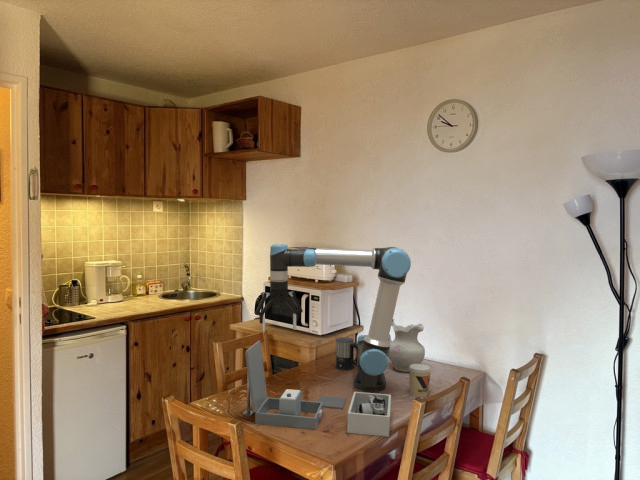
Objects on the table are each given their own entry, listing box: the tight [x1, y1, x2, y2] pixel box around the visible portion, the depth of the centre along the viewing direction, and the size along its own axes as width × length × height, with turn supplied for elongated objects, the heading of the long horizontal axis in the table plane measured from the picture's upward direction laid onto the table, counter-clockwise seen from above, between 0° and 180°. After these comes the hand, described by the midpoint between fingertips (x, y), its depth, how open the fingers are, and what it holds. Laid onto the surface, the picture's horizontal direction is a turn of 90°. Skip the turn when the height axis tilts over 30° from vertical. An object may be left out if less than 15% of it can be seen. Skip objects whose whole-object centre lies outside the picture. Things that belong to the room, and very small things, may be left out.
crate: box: [346, 391, 392, 438], centre depth 177 cm, size 15×22×7 cm
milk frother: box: [335, 336, 358, 371], centre depth 244 cm, size 14×16×15 cm
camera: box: [358, 395, 386, 416], centre depth 177 cm, size 16×9×10 cm, turn 5°
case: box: [254, 396, 324, 430], centre depth 179 cm, size 23×16×4 cm
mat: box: [317, 395, 347, 410], centre depth 195 cm, size 11×11×1 cm
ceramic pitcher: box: [388, 318, 426, 373], centre depth 242 cm, size 22×20×25 cm
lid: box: [244, 340, 268, 413], centre depth 181 cm, size 23×16×1 cm
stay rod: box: [241, 372, 255, 417], centre depth 182 cm, size 4×4×24 cm
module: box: [278, 388, 302, 416], centre depth 179 cm, size 6×10×10 cm, turn 170°
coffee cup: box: [408, 363, 432, 398], centre depth 207 cm, size 9×9×12 cm
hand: (279, 330), depth 202 cm, fingers open, 13 cm apart
